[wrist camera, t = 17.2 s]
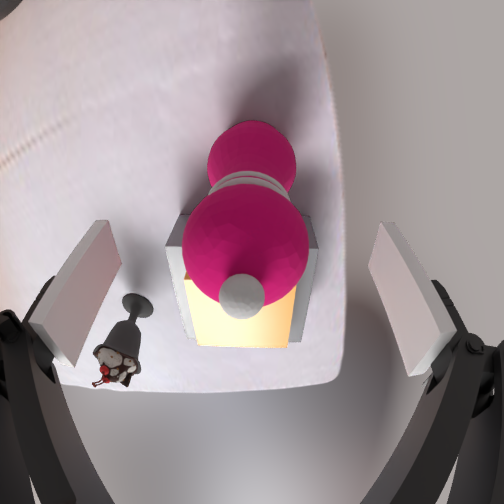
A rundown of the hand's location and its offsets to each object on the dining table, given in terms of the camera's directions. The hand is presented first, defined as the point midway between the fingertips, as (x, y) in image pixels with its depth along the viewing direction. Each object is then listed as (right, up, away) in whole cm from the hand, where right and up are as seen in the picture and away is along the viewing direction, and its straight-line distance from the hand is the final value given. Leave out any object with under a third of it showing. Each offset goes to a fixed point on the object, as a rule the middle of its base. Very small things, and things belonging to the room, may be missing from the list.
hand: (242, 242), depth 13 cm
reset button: (0, -3, +20) cm, 21 cm away
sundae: (-16, -8, +27) cm, 32 cm away
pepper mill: (+1, +9, +13) cm, 16 cm away
